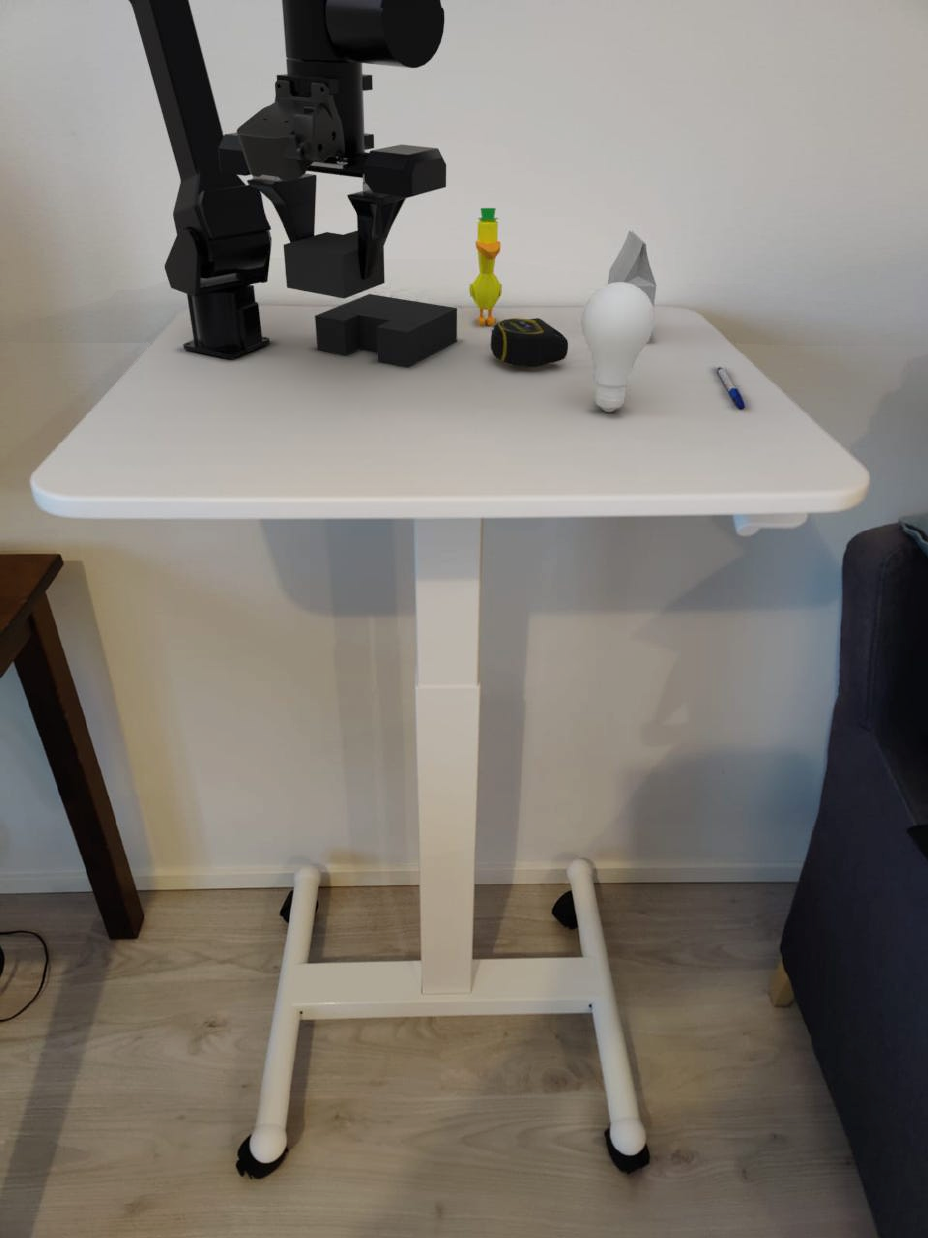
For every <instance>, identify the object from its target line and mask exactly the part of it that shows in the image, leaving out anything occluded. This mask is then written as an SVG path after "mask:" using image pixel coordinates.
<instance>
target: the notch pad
mask: <svg viewBox="0 0 928 1238" xmlns="http://www.w3.org/2000/svg"><path fill="white" fill-rule="evenodd" d="M314 321H315V334H316V335H315V336H316V349H317V351H323V352H326V353H333V354H337V355H341V356H348V355H350V354H352V353H354V352H356V351H358V350H364V351H369V352H374V353H376V355H377V362H379V363H383V364H384V363H385V364H388V365H393V366H398V367H403V368H409V367H412V366H414V365H415V364H417V363H419V362H421V361H422V360H425V359H426V358H429V357H430V356H432V355H434V354H436V353H438V352H440V351H441V350H443V349H445V348H447V347H449V346H451V345H453V344H455V343H457V341H458V308H457V307H454V306H453V307H452V306H446V305H441V304H435V303H434V304H433V303H430V302H429V303H428V302H422V301H416V300H409V299H403V298H397V297H392V296H384V295H379V294H373V293H368V294H366V295H363V296H361V297H358V298H356V299H353V300H351V301H349V302H346V303H343V304H341V305H337V306H336V307H333V308H331V309H329V310H326V311H323V312H321V313H319V314H316V315H314Z"/></svg>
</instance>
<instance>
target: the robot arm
mask: <svg viewBox="0 0 928 1238" xmlns="http://www.w3.org/2000/svg"><path fill="white" fill-rule="evenodd" d="M128 2H129V3H130V5H131V7H132V8H131V9H132V10H133V11H132V12H133V14H134V17H135V21H136V25H137V28H138V32H139V36H140V39H141V43H142V47H143V50H144V53H145V56H146V60H147V61H146V62H147V64H148V67H149V71H150V75H151V79H152V82H153V85H154V86H153V87H154V90H155V92H156V96H157V100H158V103H159V107H160V111H161V114H162V118H163V122H164V124H165V129H166V132H167V136H168V140H169V143H170V146H171V150H172V154H173V158H174V161H175V164H176V167H177V171H178V176H179V180H180V183H179V187H178V191H177V195H176V199H175V203H174V207H173V211H172V217H173V222H174V227H175V232H176V236H175V239H174V241H173V243H172V246H171V249H170V250H169V253H168V256H167V258H166V261H165V263H164V271H165V274H166V277H167V280H168V284H169V286H170V289H172V290H176V291H178V292H180V293H183V294H186V297H187V298H186V299H187V304H188V310H189V311H188V312H189V318H190V325H191V330H192V338H193V339H192V340H189V341H187V342H185V343H183V344H182V346H183V349H184V350H188V351H191V352H196V353H201V354H206V355H210V356H216V357H220V358H225V359H234V358H237V357H240V356H242V355H244V354H247V353H249V352H252V351H253V350H256V349H258V348H261V347H264V346H266V345H268V344H270V343H271V339H270V337H268V336H263V332H262V325H261V324H262V323H261V315H260V314H261V313H260V304H259V302H258V301H256V292H255V284H264V283H268V281H269V280H268V279H269V272H270V263H271V254H272V253H271V252H272V235H271V230H272V227H271V225H270V223H269V221H268V218H267V215H266V213H265V207H264V202H263V196H264V197H266V199H268V200H269V201H270V202H271V204H272V206H273V208H274V209H275V211H276V213H277V215H278V217H279V220H280V222H281V224H282V226H283V228H284V231H285V233H286V236H287V238H288V240H289V243H291V242H294V241H298V240H301V239H304V238H308V237H311V236H315V231H316V230H315V229H316V226H315V225H316V202H317V181H318V180H317V179H318V177H317V174H312V173H320V174H328V175H335V176H343V177H351V178H359V179H362V190H361V191H357V192H353V193H349V194H347V195H346V196H347V199H348V201H349V202H350V204H351V206H352V208H353V210H354V211H355V213H356V225H357V226H356V228H357V230H356V231H358V258H359V266H360V273H361V278H362V279H363V280H367V279H369V278H371V277H372V275H373V272H374V270H375V267H376V265H377V262H378V259H379V257H380V254H381V252H382V249H383V247H384V248H385V245H386V242H387V239H388V236H389V234H390V231H391V229H392V227H393V225H394V223H395V221H396V219H397V217H398V215H399V213H400V211H401V209H402V207H403V205H404V203H405V201H406V200H407V199H408V198H413V197H416V196H419V195H422V194H423V195H424V194H427V193H430V192H433V191H437V190H440V189H444V188H447V163H446V161H445V160H444V157H443V155H442V153H441V151H440V150H439V148H437V147H436V148H435V147H428V146H420V145H409V144H396V145H392V146H386V147H381V148H377V149H375V134H372V133H366V132H365V109H364V106H365V105H364V92H365V91H373V90H374V89H373V87H374V86H373V74H365V73H363V64H368V65H369V64H370V65H378V66H389V67H395V68H396V67H398V68H406V69H407V68H408V69H418V68H421V67H423V66H425V65H426V64H428V63H429V62H430V61H431V60H432V59H433V58H434V57H435V55H436V53H437V52H438V50H439V48H440V46H441V44H442V39H443V36H444V31H445V10H444V8H443V7H442V1H441V0H281V7H282V19H283V35H284V47H285V48H284V49H285V57H286V59H285V62H286V63H285V64H286V73H285V74H283V73H282V74H276V81H275V82H274V91H275V96H274V102H272V103H270V104H269V105H267V106H264V107H263V108H261V109H260V110H259V111H258V112H256V113H254V115H253V116H251V117H250V118H249V119H247V120H246V121H245V122H244V123H242V124H241V125H240V126H238V127H237V129H236V132H231V133H225V134H224V131H223V128H222V127H223V126H222V123H221V120H220V116H219V115H220V114H219V112H218V108H217V105H216V104H217V103H216V100H215V96H214V93H213V89H212V85H211V81H210V78H209V77H210V76H209V73H208V69H207V66H206V62H205V58H204V55H203V50H202V46H201V42H200V39H199V35H198V31H197V27H196V23H195V19H194V15H193V12H192V8H191V4H190V0H128ZM368 150H370V151H369V152H368ZM366 151H367V152H366ZM307 172H312V173H307ZM240 176H241V177H242V176H244V177H247V176H252V178H251V179H247V180H246V182H247V184H246V183H245V182H244V181H243V180H242V179H241V177H240Z"/></svg>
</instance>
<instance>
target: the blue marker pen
mask: <svg viewBox="0 0 928 1238" xmlns="http://www.w3.org/2000/svg"><path fill="white" fill-rule="evenodd" d="M717 373H718V375H719V377H720V379H721V380H722V382H723V383H724V384H723V385H724V386H725V387H726V389H727V391H728V394H729V396H730V397H731V399H732V401H733V403H734V404H735V406H736V407H737V409H739V410H744V409H745V407H746V405H745V401H744V399H743V396H742V395H741V393H740V391H739V389H738V388H736V387H735V385H734V384H733V382H732V380H731V379H730V378H729V377H730V376H728V373H727V372H726V370H725V369H724V368H723V367H721V366H719V367H717Z"/></svg>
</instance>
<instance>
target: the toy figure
mask: <svg viewBox="0 0 928 1238" xmlns="http://www.w3.org/2000/svg"><path fill="white" fill-rule="evenodd" d="M480 213H481V217H478V218H477V219H478V221H477V235H476V236H477V238H476V239H477V240H476V241H475V248H476V250H477V258H478V259H477V260H478V267H479V273H478V275H477V276H476V278H475V279H474V281H473V282H472V283H469V289H468V290H469V296H470V298H471V297H472V300H473V301H474V303H475V305H476V306H477V308H478V309H479V317H477V325H478V326H480V327H483V326H486V325H488V326H490V327H491V326H492V327H494V326H495V325H496V318H495V317H493V309H494V307H495V305H496V304H497V302H499V299H500V297H501V296H502V292H503V291H502V290H503V288H502V287H503V284H502V283H501V282H500V281H499V279H498V278H497V276H496V274H495V273H494V272H495V264H496V257H498V255H499V254H500V252H501V246H502V245H501V242H500V241H499V240H498V235H499V234H498V233H499V232H498V231H499V228H498V227H499V223H498V221H497V220H498V219H499V218H498V217H495V215H496V207H481V208H480ZM484 311H487V317H485V316H484Z"/></svg>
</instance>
